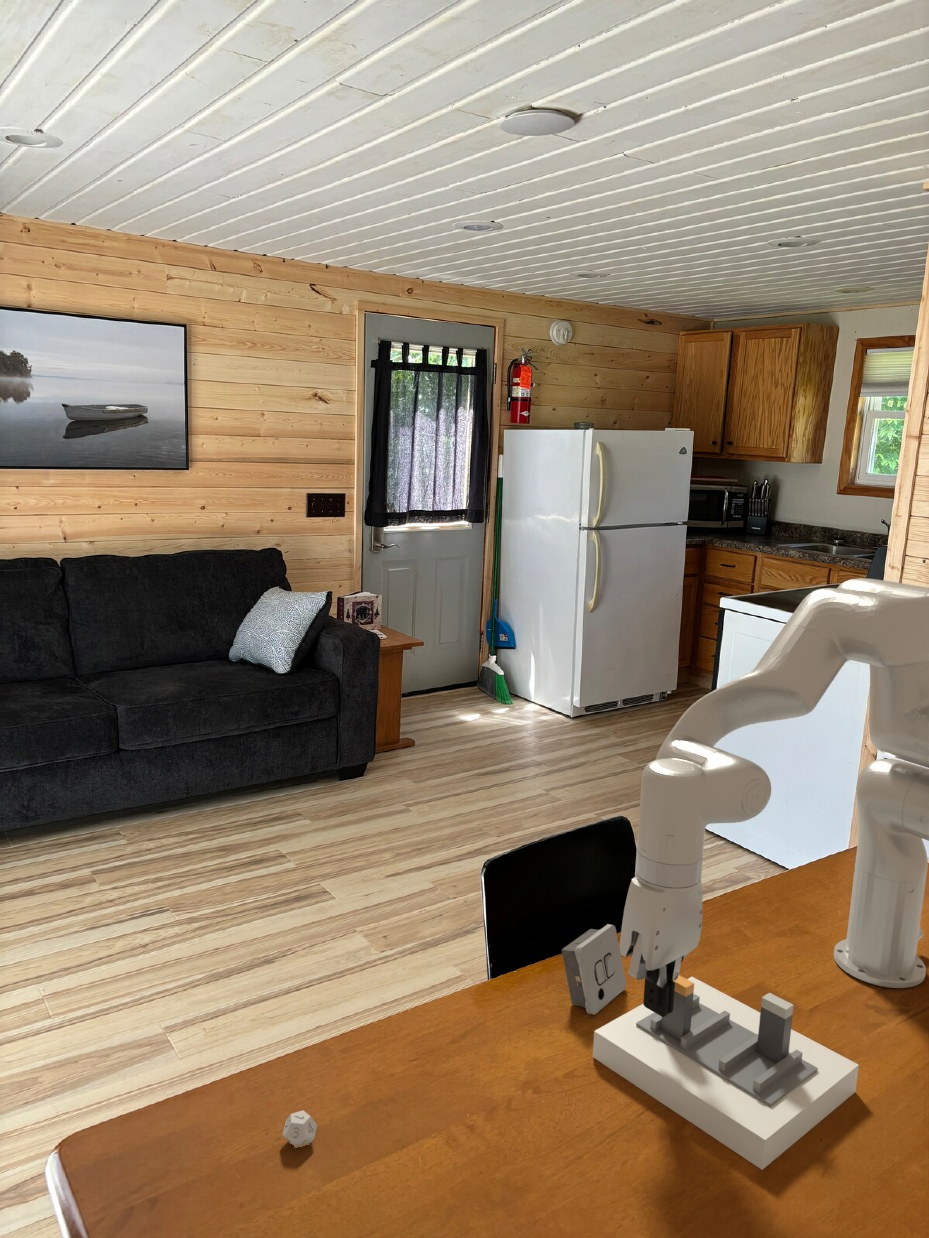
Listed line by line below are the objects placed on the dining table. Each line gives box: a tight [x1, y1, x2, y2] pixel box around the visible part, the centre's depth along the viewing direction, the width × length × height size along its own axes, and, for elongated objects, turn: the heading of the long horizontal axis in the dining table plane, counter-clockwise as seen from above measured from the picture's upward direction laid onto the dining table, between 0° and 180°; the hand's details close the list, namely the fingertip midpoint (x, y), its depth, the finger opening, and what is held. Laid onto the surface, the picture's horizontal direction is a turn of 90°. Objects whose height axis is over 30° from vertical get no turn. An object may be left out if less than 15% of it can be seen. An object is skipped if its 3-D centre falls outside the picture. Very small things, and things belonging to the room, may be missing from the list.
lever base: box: [592, 976, 860, 1170], centre depth 116 cm, size 20×24×11 cm
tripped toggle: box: [661, 974, 694, 1041], centre depth 118 cm, size 2×3×7 cm, turn 41°
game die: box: [282, 1109, 318, 1148], centre depth 104 cm, size 4×4×3 cm
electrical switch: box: [561, 923, 627, 1015], centre depth 132 cm, size 9×5×9 cm, turn 141°
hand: (657, 1009), depth 115 cm, fingers closed
